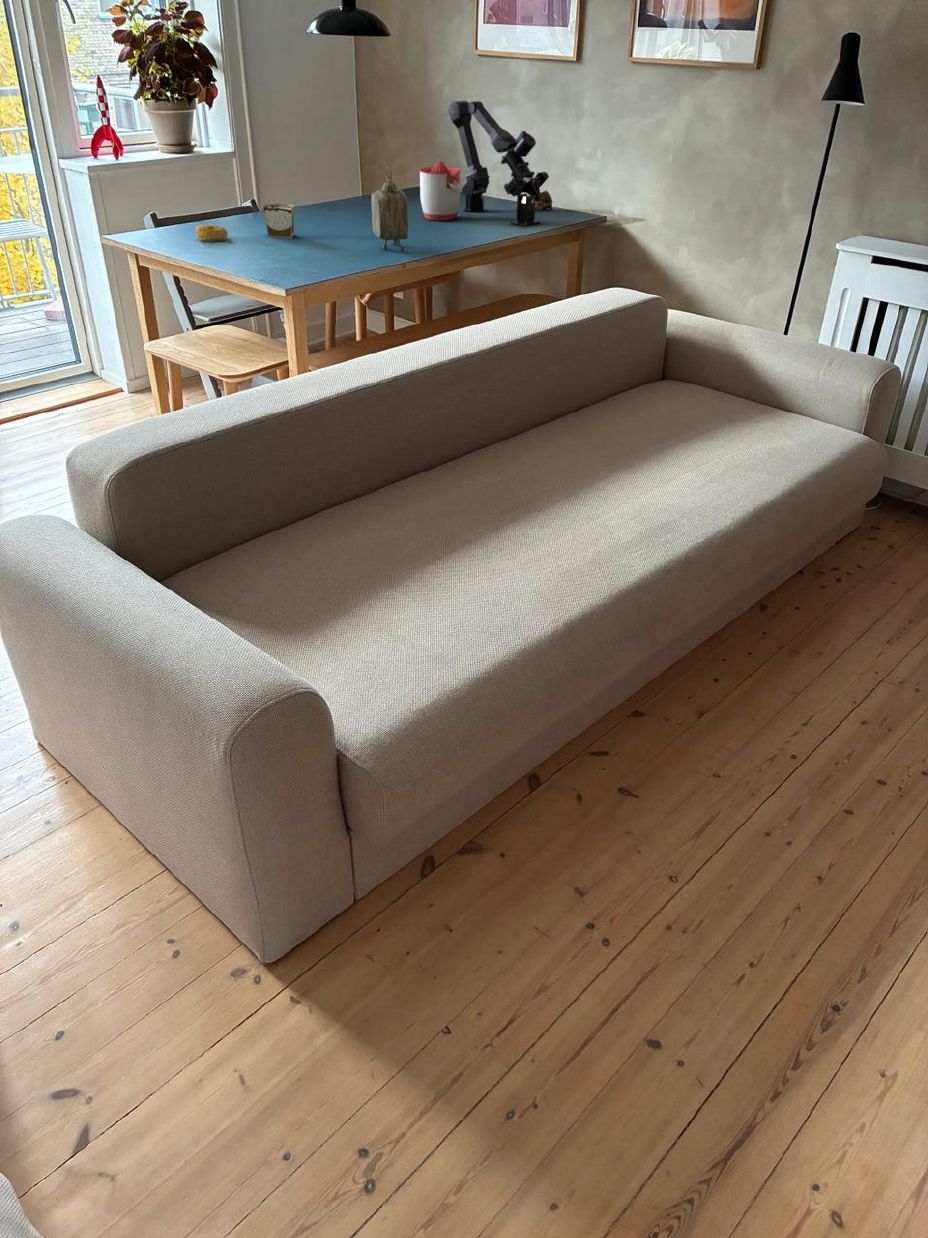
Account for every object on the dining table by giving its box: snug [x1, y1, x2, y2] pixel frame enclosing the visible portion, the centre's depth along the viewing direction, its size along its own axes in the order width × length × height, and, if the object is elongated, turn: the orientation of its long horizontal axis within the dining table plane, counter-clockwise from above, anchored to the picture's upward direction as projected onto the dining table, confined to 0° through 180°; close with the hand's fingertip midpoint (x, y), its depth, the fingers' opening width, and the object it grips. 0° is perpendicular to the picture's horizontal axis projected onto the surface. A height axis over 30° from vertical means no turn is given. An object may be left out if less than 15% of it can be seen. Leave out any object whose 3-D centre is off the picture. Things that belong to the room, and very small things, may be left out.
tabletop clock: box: [370, 166, 409, 253], centre depth 309 cm, size 14×9×25 cm, turn 17°
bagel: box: [195, 224, 229, 243], centre depth 326 cm, size 10×11×5 cm
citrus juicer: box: [418, 160, 462, 222], centre depth 355 cm, size 16×17×20 cm
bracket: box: [509, 193, 541, 228], centre depth 348 cm, size 9×7×10 cm
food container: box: [261, 203, 296, 239], centre depth 330 cm, size 12×6×10 cm, turn 71°
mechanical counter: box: [535, 190, 553, 211], centre depth 373 cm, size 7×13×10 cm
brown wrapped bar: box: [521, 196, 546, 207], centre depth 349 cm, size 10×5×2 cm, turn 137°
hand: (539, 201), depth 352 cm, fingers closed, pressing on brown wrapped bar
